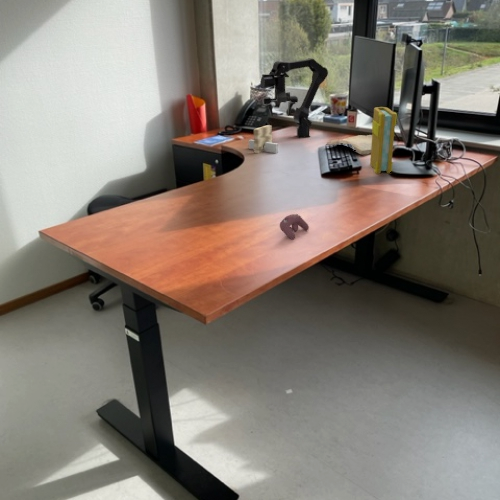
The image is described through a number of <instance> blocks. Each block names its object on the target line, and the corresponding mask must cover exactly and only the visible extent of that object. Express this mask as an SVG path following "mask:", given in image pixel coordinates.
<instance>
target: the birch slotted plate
mask: <svg viewBox="0 0 500 500" xmlns="http://www.w3.org/2000/svg"><path fill="white" fill-rule="evenodd" d="M272 127H273V126H272V124H271V125H270V124H267V125H263V126H261V127H257V128H254V129H253V140H254V149H253V151H254V153H255V154H260V153H262V152H264V151H263V146H264V145H265V143H266V142H271V143H273V141H272V139H273V136H272V135H273V134H272V132H273V131H272Z"/></svg>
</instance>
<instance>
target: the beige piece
mask: <svg viewBox="0 0 500 500" xmlns="http://www.w3.org/2000/svg"><path fill="white" fill-rule="evenodd" d="M339 143H343V144H351V145H352V146H353V147H354V149H355V150H356V151H355V152H356V153H358V154H359V155H361V156H362V155H363V156H365V155H369V154H370V155H371V145H372V134H369V135H368V134H367V135H364V134H363V135H361V134H360V135H359V134H358V135H355V136H349V137H345V138H344V139H331V140H330V141H327V142H326V143H325V146H326V145H333V144H339Z"/></svg>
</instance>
